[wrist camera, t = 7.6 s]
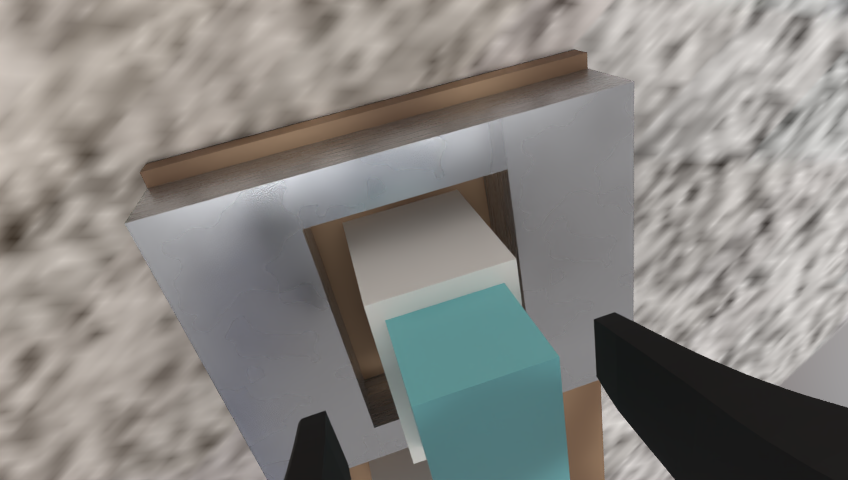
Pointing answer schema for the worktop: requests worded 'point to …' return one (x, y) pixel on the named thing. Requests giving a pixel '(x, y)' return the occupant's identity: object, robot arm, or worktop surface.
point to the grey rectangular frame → (399, 467)
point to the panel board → (331, 237)
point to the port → (374, 187)
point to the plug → (459, 343)
